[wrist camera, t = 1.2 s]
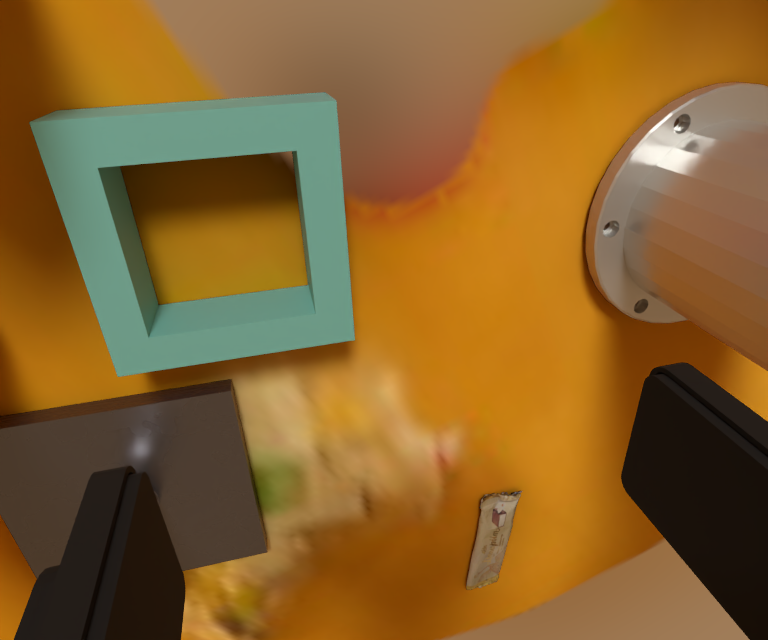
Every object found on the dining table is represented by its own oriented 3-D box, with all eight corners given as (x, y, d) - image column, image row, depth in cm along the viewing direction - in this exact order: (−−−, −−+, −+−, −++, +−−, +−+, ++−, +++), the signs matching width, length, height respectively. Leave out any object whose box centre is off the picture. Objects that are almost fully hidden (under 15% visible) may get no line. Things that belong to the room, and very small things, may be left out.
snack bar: (501, 580, 40) (472, 600, 39) (488, 565, 41) (459, 584, 40) (524, 490, 35) (492, 508, 34) (508, 476, 36) (476, 493, 35)
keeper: (231, 379, 27) (226, 512, 19) (266, 538, 32) (273, 686, 25) (-35, 422, 24) (-154, 590, 17) (54, 584, 30) (-6, 761, 23)
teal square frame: (325, 92, 21) (336, 100, 19) (344, 309, 26) (354, 340, 24) (57, 110, 20) (29, 122, 17) (130, 340, 24) (117, 376, 22)
